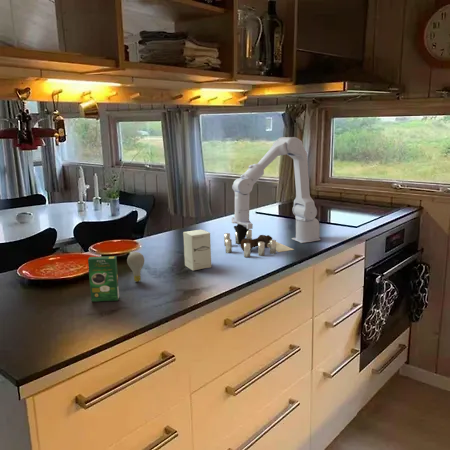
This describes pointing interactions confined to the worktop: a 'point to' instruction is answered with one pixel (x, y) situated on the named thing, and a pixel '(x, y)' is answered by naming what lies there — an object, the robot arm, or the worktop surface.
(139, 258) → the light bulb
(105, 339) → the worktop surface
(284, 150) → the robot arm
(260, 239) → the brown bone
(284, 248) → the mat
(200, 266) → the supplement box
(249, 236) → the spacers
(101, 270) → the coffee box
